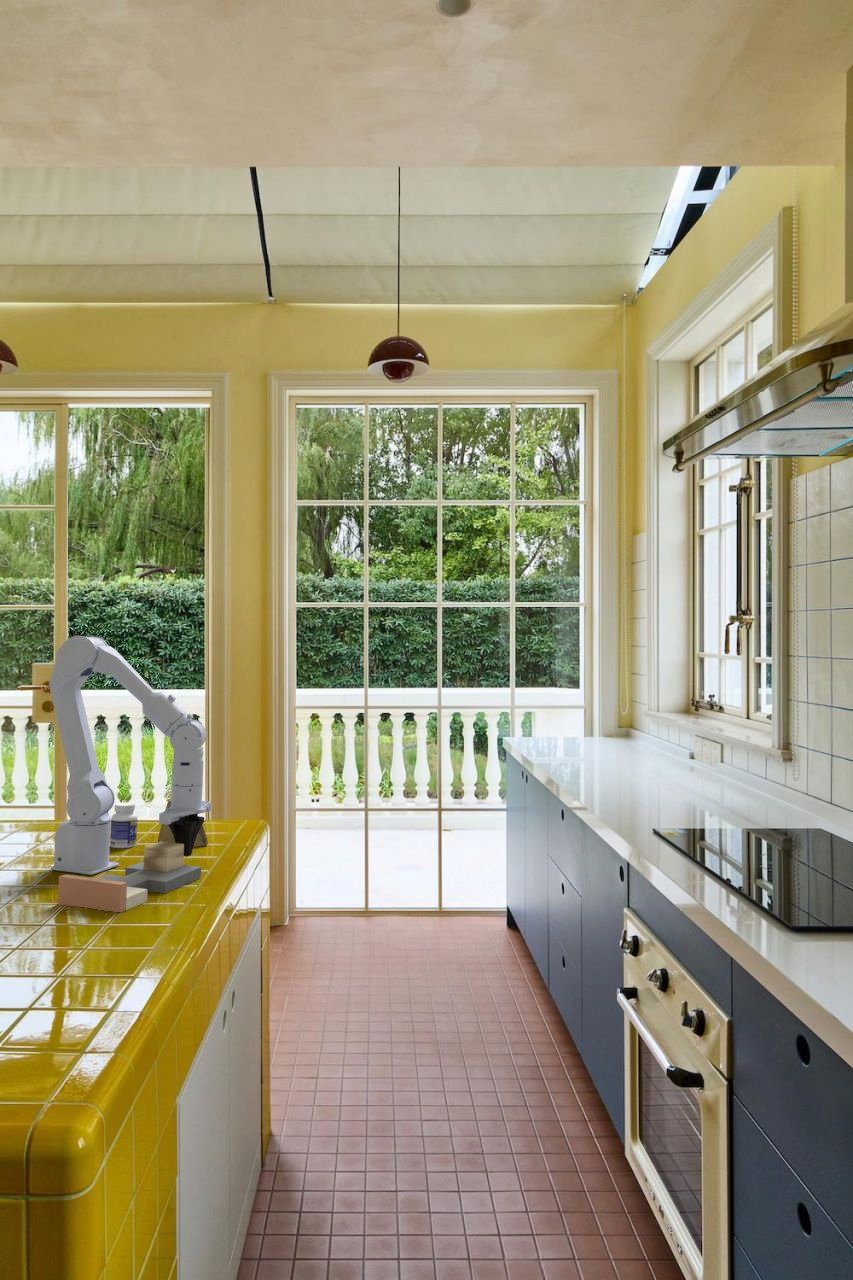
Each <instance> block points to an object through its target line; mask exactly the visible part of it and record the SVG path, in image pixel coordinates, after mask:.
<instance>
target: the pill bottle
mask: <svg viewBox="0 0 853 1280" xmlns="http://www.w3.org/2000/svg"><path fill="white" fill-rule="evenodd" d="M135 807H136V804H135V803H134V802H117V803H114V812H115V813H114V814H113V815H111V816H110V818H111V822H110V848H113V849H129V848H130V849H131V848H134V847H135V846H137V839H138V838H137V837H138V836H137V835H138V834H137V832H138V815H137V814H136V813H135V812H134V811H135V809H136V808H135Z"/></svg>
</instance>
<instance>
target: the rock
mask: <svg viewBox="0 0 853 1280" xmlns="http://www.w3.org/2000/svg"><path fill="white" fill-rule="evenodd" d="M170 807H171V800H168V801H167V803H166V807H165V810H164V811H166V810H167V809H168V808H170ZM160 825H161V826H160V829H159V832H158V838H157V843H158V842H161V841H162V842H170V843H175V839H174V836H173V834H172V831H171V829H170V827H169V826H168V825H166V824H160ZM205 831H206V830H205V828H204V825H203V824H202V826H201V828H200V830H199V832H198V834H197V837H196V840H195V843H194V847H193V848H196V847H202V846H207V845H209V840H208V839H209V838H208V836H207V833H206V832H205Z"/></svg>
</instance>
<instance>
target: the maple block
mask: <svg viewBox="0 0 853 1280" xmlns="http://www.w3.org/2000/svg"><path fill="white" fill-rule="evenodd" d="M143 849H144V850H143V861H144V869H147V870H155V871H163V872H169V871H171V870H174V869H176V868H179V867H181V866H183V865H184V857H185V856H184V844H179V843H170V842H162V841H161V842H158V841H157V842H156V843H152V844H149V845H146V846H144V848H143Z"/></svg>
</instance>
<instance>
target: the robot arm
mask: <svg viewBox="0 0 853 1280" xmlns="http://www.w3.org/2000/svg"><path fill="white" fill-rule="evenodd" d="M55 653H56V660H55V663H54V666H53V669H52V672H51V674H50V675H51V676H50V678H49V681H48V686H49V687H48V688H49V691H50V696H51V700H52V704H53V709H54V712H55V717H56V721H57V726H58V730H59V735H60V738H61V739H60V740H61V743H62V747H63V752H64V756H65V761H66V764H67V769H68V773H69V777H68V781H67V785H66V790H67V802H66V805H65V807H66V814H67V816H68V817H69V819H66V820H64V821H62V822H61V823H60V824H59V825H58V827H57V829H56V831H55V834H54V835H55V836H54V858H53V859H54V860H53V866H51V867H50V870H53V871H59V872H67V873H75V874H83V875H90V876H91V875H95V874H98V873H99V874H100V873H102V872H104V871H107V870H109V869H112V868H115V867H118V866H119V865H120V862H116V861H115V862H114V861H110V848H111V846H110V835H111V816H110V814H109V812H110V811H111V809H112V808H113V806H114V805H115V801H116V800H115V798H116V797H115V792H114V791H113V789H112V788H111V786H110V785H109V784H108V782H107V780H106V776H105V773H103V772H102V770H101V768H99V764H98V758H97V755H96V751H95V747H94V746H95V745H94V742H93V738H92V734H91V730H90V729H91V728H90V725H89V720H88V716H87V712H86V708H85V703H84V698H83V694H82V691H81V688H82V686H83V685H84V683H86V681H87V680H88V678H89V677H90V676H91V675H92V674H93V673H100V674H102V675H103V674H104V675H106V676H107V675H108V676H110V677H112V678H113V679H114V680H115V681H116V682H118V683H119V684H120V685H121V687H123V688H124V689H126V690H127V691H128V692H129V694H131V695H132V696H133V697H134V698H136V699H137V700H138V701H139V702H140V703H141V705H142V715H144V716H145V717H146V719H148V720H149V721H150V722H151V723H152V724H153V725H154V726H155V727H156V728H157V729H158V730H159V731H160V732H161V733H162V734H163V735H164V736H165V737H168V738H169V743H170V746H171V747H172V749H173V759H172V767H171V768H172V770H171V771H172V772H171V794H170V796H171V797H170V798H171V799H170V801H171V807H170V808H168V809H167V810H166V811H165V810H164V811H162V812H160V813H159V816H158V824H159V825H162V824H166V825H168V826H169V827H170V829H171V831H172V834H173V836H174V839H175V843H179V844H184V857H185V858H186V857H190V856H192V854H193V850H194V848H195V847H194V843H195V840H196V837H197V834H198V832H199V830H200V828H201V826H202V825H203V824H204V823H205V817H204V816H198V815H200V814H204V813H210V812H212V801H206V800H203V783H204V782H203V781H204V746H203V745H204V744H205V742H206V740H207V737H208V736H207V735H208V734H207V730H206V728H205V727H204V724H203V723H202V722H201V721H200V720H197V719H193V718H194V715H193V714H192V713H191V712H190V713H187V712H186V711H185V709H183V708H182V707H181V706H180V705H179V704H178V702H176V700H177V697H176V696H175V695H174V694H168V693H166V691H165V692H164V691H155V689H153V688H152V687H151V686H150V684H149V683H148V682H147V681H146V680H145V679H144V678H143V677H142V676H141V675H140V674H139V673H138V672H137V670H136V669H135V668H134V667H133V666H132V665H131V664H130V663H129V662H128V661H127V660H126V659H125V658H124V657H123V656H122V655H121V654H120V653H119V652H118V651H117V650H116V649H115V648H113V647H112V646H110V645H108V643H107V642H106V641H105V640H104V639H103V638H102V637H99V636H83V635H74V636H71V637H69V638H67V640H65V641H64V642H63V643H62V645H61V646H60V647H59V648H58V649H57V650H56V652H55Z"/></svg>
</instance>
